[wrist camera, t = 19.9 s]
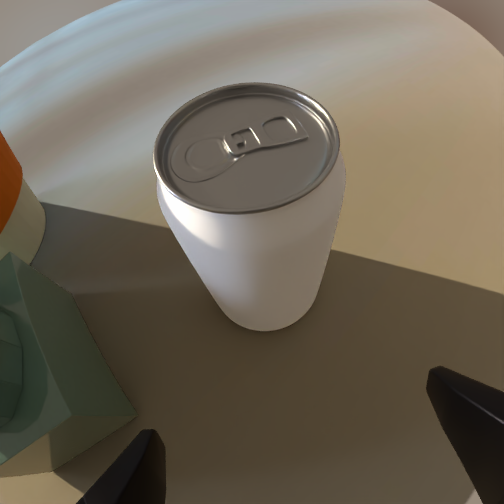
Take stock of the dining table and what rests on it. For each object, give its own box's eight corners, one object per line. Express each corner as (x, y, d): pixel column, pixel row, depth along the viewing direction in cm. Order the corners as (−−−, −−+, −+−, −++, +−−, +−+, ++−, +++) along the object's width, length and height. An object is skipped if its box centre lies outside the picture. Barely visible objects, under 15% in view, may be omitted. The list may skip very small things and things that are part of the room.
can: (200, 256, 21) (128, 113, 10) (291, 221, 22) (293, 61, 11) (235, 349, 18) (164, 267, 7) (336, 306, 19) (398, 177, 8)
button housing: (138, 415, 17) (41, 412, 9) (51, 471, 15) (-46, 479, 7) (71, 293, 21) (-12, 233, 13) (0, 356, 19) (-85, 322, 11)
